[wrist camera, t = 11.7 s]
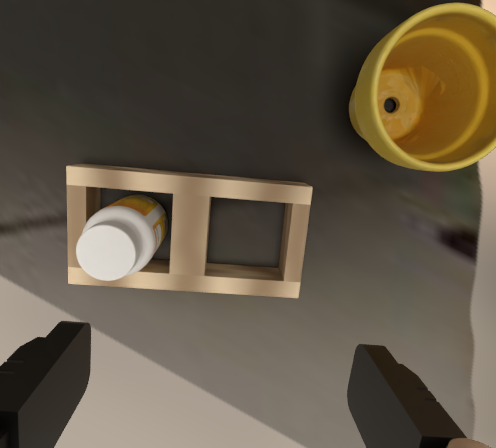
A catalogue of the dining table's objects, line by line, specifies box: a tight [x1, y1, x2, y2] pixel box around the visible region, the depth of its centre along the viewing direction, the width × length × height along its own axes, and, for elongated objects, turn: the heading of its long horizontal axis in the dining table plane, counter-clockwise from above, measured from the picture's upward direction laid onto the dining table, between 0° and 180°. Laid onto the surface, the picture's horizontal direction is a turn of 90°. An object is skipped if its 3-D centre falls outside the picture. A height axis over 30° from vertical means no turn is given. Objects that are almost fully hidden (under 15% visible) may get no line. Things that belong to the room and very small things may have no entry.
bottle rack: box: [66, 163, 313, 298], centre depth 32 cm, size 20×10×4 cm, turn 85°
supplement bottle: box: [76, 194, 168, 281], centre depth 29 cm, size 5×5×10 cm
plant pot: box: [349, 3, 496, 172], centre depth 28 cm, size 10×10×10 cm
